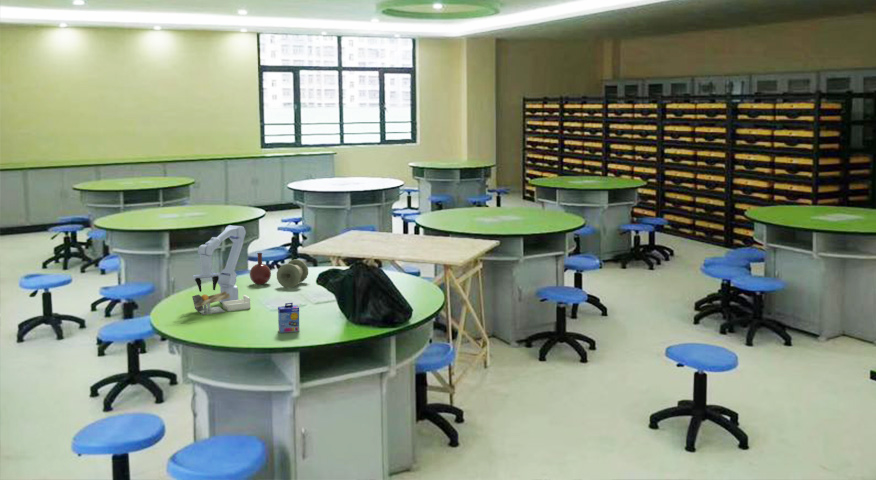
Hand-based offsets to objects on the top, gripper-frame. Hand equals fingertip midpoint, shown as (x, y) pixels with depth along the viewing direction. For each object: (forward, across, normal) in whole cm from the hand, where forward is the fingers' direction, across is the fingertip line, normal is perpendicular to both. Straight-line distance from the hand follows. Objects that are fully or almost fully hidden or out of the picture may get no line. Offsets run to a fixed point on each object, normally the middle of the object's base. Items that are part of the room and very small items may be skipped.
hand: (207, 290), depth 418 cm
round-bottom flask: (+10, +44, +44) cm, 63 cm away
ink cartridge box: (+10, +22, -69) cm, 73 cm away
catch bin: (+9, +13, -10) cm, 19 cm away
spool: (+10, +61, +32) cm, 70 cm away
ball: (+2, -4, -10) cm, 11 cm away
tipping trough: (+6, 0, -7) cm, 10 cm away
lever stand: (+9, -1, -10) cm, 14 cm away
